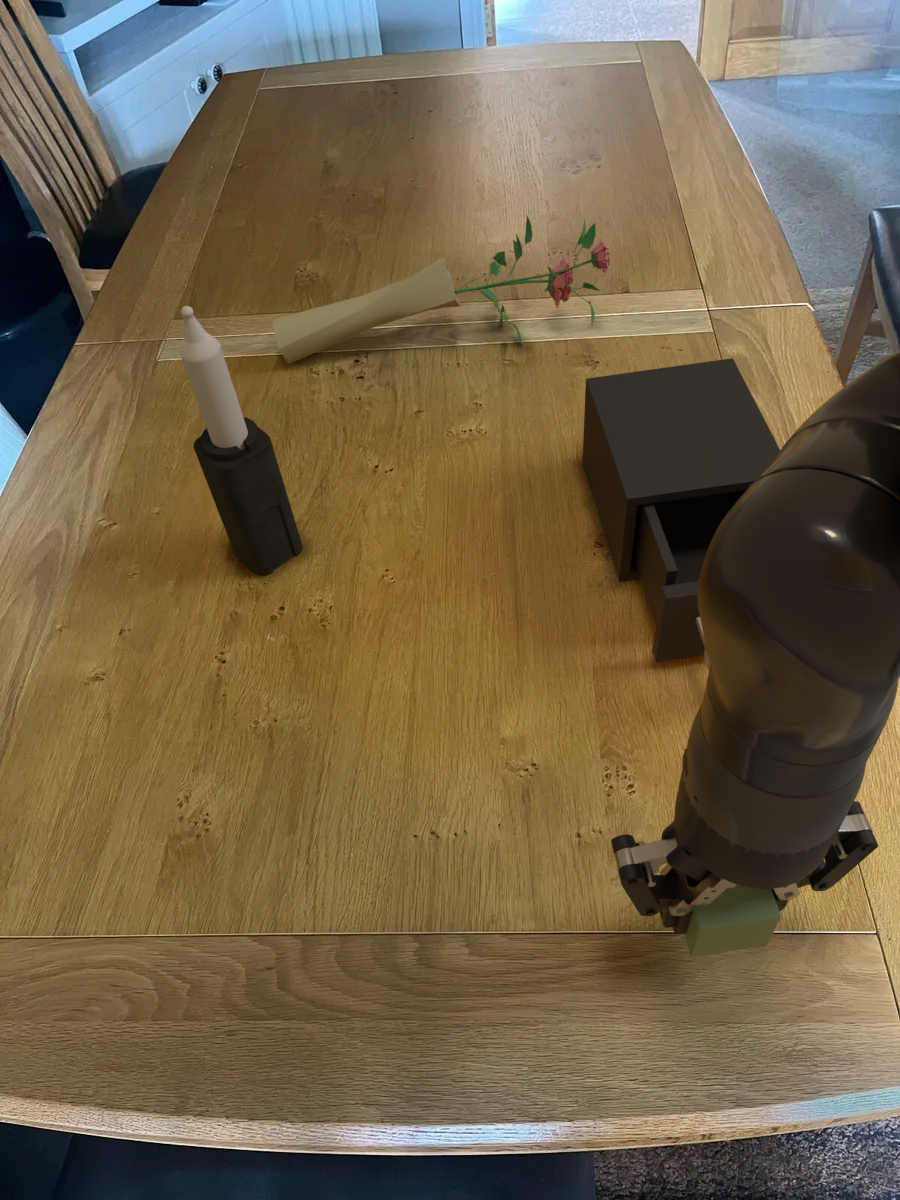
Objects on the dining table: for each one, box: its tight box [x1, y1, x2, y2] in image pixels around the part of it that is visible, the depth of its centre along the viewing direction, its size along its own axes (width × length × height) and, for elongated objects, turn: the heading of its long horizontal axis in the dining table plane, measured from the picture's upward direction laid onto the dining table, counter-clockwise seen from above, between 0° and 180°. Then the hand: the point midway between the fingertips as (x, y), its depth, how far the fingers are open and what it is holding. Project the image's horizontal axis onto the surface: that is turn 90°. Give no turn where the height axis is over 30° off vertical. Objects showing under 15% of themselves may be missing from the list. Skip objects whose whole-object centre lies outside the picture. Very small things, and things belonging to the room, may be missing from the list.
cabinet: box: [581, 357, 781, 582], centre depth 79 cm, size 15×13×10 cm
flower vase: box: [272, 215, 611, 364], centre depth 98 cm, size 12×12×35 cm
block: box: [683, 885, 782, 958], centre depth 55 cm, size 5×5×5 cm
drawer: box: [632, 490, 746, 671], centre depth 72 cm, size 18×12×8 cm, turn 7°
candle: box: [179, 305, 303, 577], centre depth 74 cm, size 5×5×25 cm
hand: (718, 911), depth 57 cm, fingers closed on block, 4 cm apart
